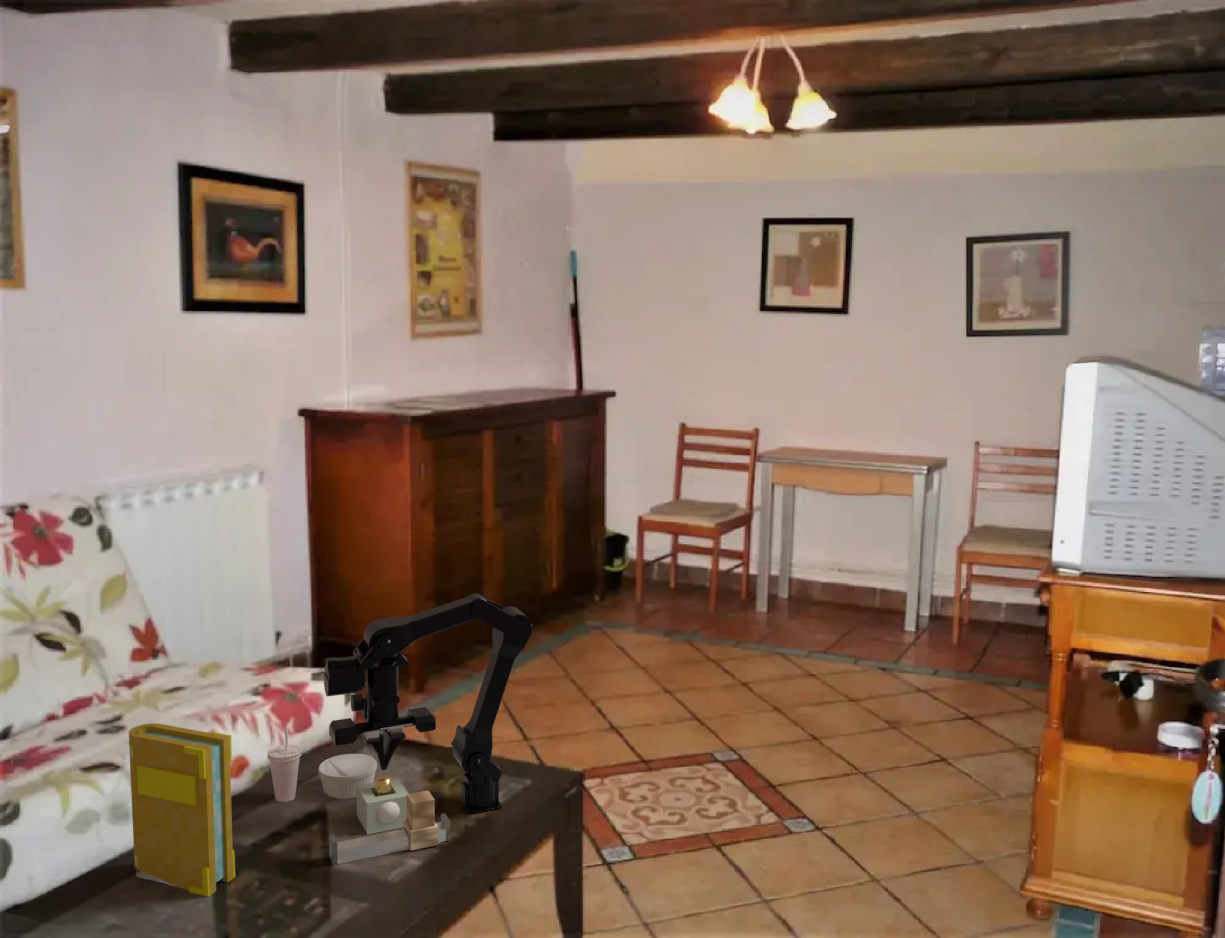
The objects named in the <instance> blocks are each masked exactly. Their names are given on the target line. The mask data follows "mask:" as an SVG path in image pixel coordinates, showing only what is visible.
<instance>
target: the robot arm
mask: <svg viewBox="0 0 1225 938" xmlns="http://www.w3.org/2000/svg"><path fill="white" fill-rule="evenodd" d="M474 620H479V621H481V622H483V623H485V624H486V625H489V626H490V627H492V633H491V635H492V638H491V639H492V641H491V642H492V651H491V654H490V657H489V661H488V664H487V667H486V670H485V672H484V673H485V674H484V677H483V680H482V683H481V686H480V689H479V692H478V695H477V698H476V701H475V704H474V707H473V710H472V712H471V713H472V714H471V717H470V719H469V721H468V722H467V723H466V724H465V725H464V726H462V725H459V724H458V725H457V726H456V729H455V734H454V738H453V740H452V741H451V742H450V745H451V746H452V755H453V756H454V759H455V760H456V761H457V763H458V764H459V765H460V767H461V768H462V770H463V771H464V773H463V781H461V782H460V802H461V804H462V805H463V806H464V807H465V808H466V810H467V811H468V812H469V813H470V814H478V813H482V812H481V811H483V812H485V811H484V810H488V809H492V808H498V807H502V808H503V804H502V803H501V802H500V780H501V776H502V775H503V770H502V769H501V767H500V766H499V765H498V763H497V762H496V761H495V760H494V758H493V757H492V753H493V746H494V745H493V729H494V724H495V721H496V719H497V715H498V713H499V710H500V706H501V703H502V700H503V697H504V694H505V691H506V687H507V686H508V685H507V684H508V681H509V678H510V675H511V672H512V669H513V667H514V666H513V665H514V663H515V661H516V659H517V658H518V656H519V655H520V654H521V653H522V652H523V651H524V650H525V648H526V647H527V644H528V642H529V640H530V638H531V636H532V634H533V631H534V630H533V629H534V625H533V623H532V620H531V619H530V618H529V617H528V616H527V615H526V614H525V613H523V611H521V610H520V609H518V607H515V606H511V605H510V606H502V605H500V604H498V603H496V602H494V601H492V600H489V599H487V598H486V597H484V596H482V595H481V594H479V593H471V594H469V595H467V596H466V597H464V598H460V599H457V600H454V601H451V602H448V603H445V604H442V605H439V606H436V607H433V608H430V609H427V610H425V611H421V612H418V613H415V614H413V615H412V614H411V615H408V616H391V617H385V618H377V619H375V620H373V621H370V622H369V623H368V624H367V625H366V628H365V629H364V632H363V638H362V639H361V640H360V641H359V643H358V644H357V646H356V647H355V648H354V650H353V652H352V654H353V655H351V656H344V657H326V658H325V666H324V672H323V686H324V687H323V688H324V692H325V693H324V694H325V696H326V697H335V696H343V695H350V710H351V712H360V714H361V716H362V717H363V719H364V720H366V722H359V723H354V721H353V719H352V718H348V717H347V718H342V719H335V720H334V719H333V720H332V721H331V722H330V723H329V726H328V734H329V737H330V739H331V741H332V742H333V743H334V745H335V746H343V745H345V746H346V745H350V744H351V745H352V744H354V743H356V741H357V740H358V735H360V736H361V738H362V739H363V741H364V743H365V744H366V745H370V746H371V747H372V749H373V751H374V754H375V756H376V759H377V760H376V761H377V763H378V766H379V769H380V770H381V771H386V770H387V768H388V766H389V764H390V762H391V761H392V760H391V759H392V758H393V755H394V753H395V751H396V749H397V748H398V746H399V745H400V742H401V741H402V740H406V738H407V735H406V734H405V732H404V730H405V728H406V727H407V728H408V727H413V726H415V727H414V728H415V730H416V731H418V732H419V733H426V732H432V731H435V730H437V729H436V728H437V725H436V724H437V723H436V722H437V720H436V717H435V715H434V714H433V713H432V711H431V710H429V709H428V707H427V706H422V707H416V708H415V707H414V708H410V709H409V708H408V710H407V712H406V713H407V714H406V715H405V716H399V704H400V703H401V702H400V699H401V698H400V696H399V667H404V666H409V665H410V661H409V660H408V658H407V657H406V656H405V655H403V654H402V651H405V650H407V648H409V647H410V646H411V645H412V644H414V643H415V642H416V641H418V640H420V639H423V638H424V637H425V638H426V637H428V636H431V635H433V634H437V633H440V632H442V631H445V630H448V629H451V628H454V627H457V626H460V625H462V624H465V623H468V622H471V621H474ZM365 670H366V674H365ZM365 675H366V676H365ZM365 677H366V679H365ZM365 681H366V683H365ZM365 685H366V690H365V697H363V693H359V692H360V691H362V690H363V687H365ZM382 731H383V738H382V737H381V733H380V732H382ZM499 805H500V806H499ZM498 809H499V808H498ZM488 811H489V810H488Z"/></svg>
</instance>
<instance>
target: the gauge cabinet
mask: <svg viewBox="0 0 1225 938" xmlns="http://www.w3.org/2000/svg"><path fill="white" fill-rule="evenodd" d="M407 794H410V793H409V792H408V791H407V789H406V787H405V786H404V785H403V783H402V782H401V780H400V778H394V779H392V778H391V794H389V795H383V796H378V797H375V782H374V783H369V784H364V785H358V786H357V797H356V816H357V818H358V820H359V822H360V824H361V825H362V827H363V829H364V831H365V833H366V835H371V834H372V835H373V834H375V833H377V834H378V833H381V832H382V833H383V832H388V831H391V830H392V831H393V830H398V829H403V819H407Z"/></svg>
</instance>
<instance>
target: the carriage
mask: <svg viewBox="0 0 1225 938" xmlns="http://www.w3.org/2000/svg"><path fill="white" fill-rule="evenodd" d="M435 804H436V799H435V797H433V795H432V794H431V792H430V791H429V790H423V791H418V792H412V793H409V794H407V819H403V827H402V829H406V830H407V832H408V833H409V835H410V851H415V850H419V849H424V848H425V849H426V848H429V847H435V846H438V845H439V844H438V825H437V824H436V823H437V822H436V817H435V816H436V815H435V813H436V812H435V809H436V806H435Z"/></svg>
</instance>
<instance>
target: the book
mask: <svg viewBox="0 0 1225 938" xmlns="http://www.w3.org/2000/svg"><path fill="white" fill-rule="evenodd" d="M128 744H129V747H128V749H129V750H128V751H129V767H130V768H129V770H130V791H131V793H130V795H131V815H132V817H131V818H132V837H133V839H132V840H133V841H132V842H133V858H134V862H133V863H134V868H135V867H136V868H137V869H138V870H140V871H142V872H144V873H147V874H148V875H152V876H155V877H157V878H159V879H162V880H163V881H166V882H168V883H170V884H173V885H176V886H177V887H176V888H178V887H179V888H178V889H182V888H183V890H186V891H188V893H191V894H195V895H199V896H203V897H208V898H209V897H210V896H212V895H213V894H215V892H217V882H219V881H222V882H225V883H229V882H230V881H232V880H233V879H234V878H236V857H235V849H234V848H233V812H232V783H231V782H232V781H231V779H232V778H231V764H232V763H233V758H232V757H233V756H232V754H233V752H232V735H231V734H226V733H220V732H215V731H211V732H207V731H201V730H196V729H190V728H184V727H180V726H173V725H169V724H168V725H167V724H163V723H144V724H140V725H137V726H134V727H132V728H130V730H128Z"/></svg>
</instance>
